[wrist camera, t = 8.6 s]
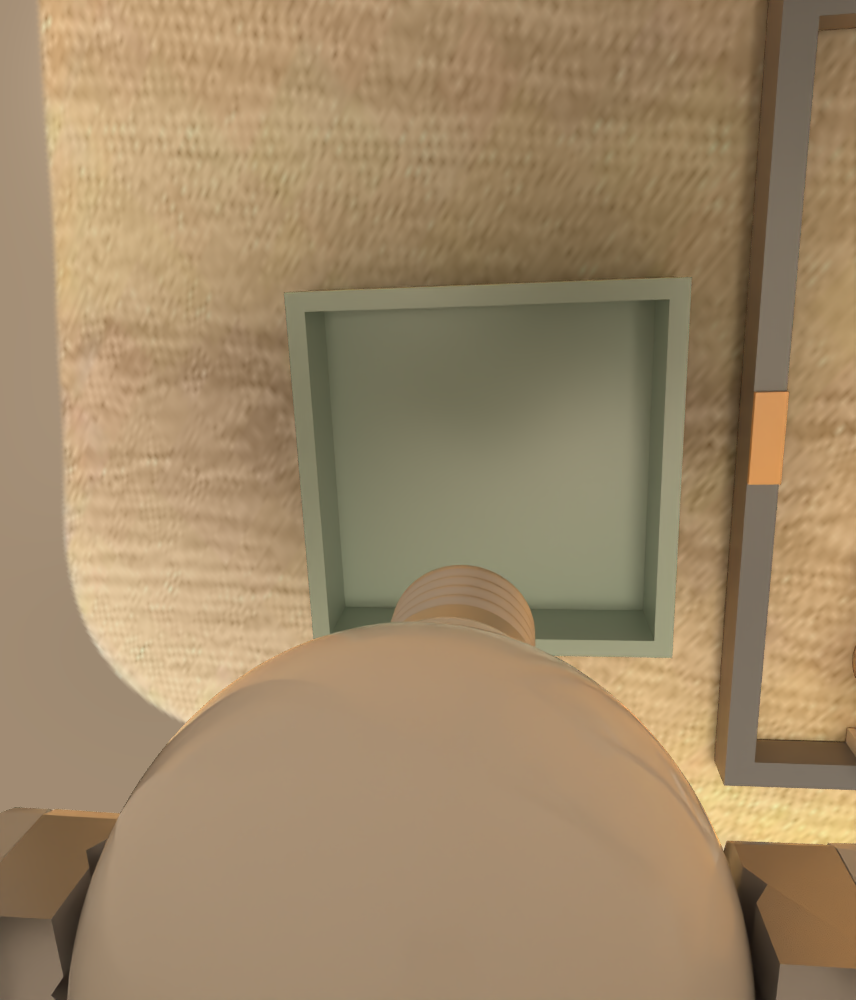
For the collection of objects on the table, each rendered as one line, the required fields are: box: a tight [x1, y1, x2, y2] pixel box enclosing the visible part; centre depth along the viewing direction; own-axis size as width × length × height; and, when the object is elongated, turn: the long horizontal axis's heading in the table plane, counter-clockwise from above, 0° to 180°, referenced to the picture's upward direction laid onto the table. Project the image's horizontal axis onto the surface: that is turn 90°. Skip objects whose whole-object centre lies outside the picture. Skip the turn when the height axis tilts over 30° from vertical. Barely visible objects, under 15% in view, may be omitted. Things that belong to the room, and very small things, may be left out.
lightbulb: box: [67, 565, 756, 1000], centre depth 10 cm, size 6×6×11 cm
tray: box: [284, 277, 692, 658], centre depth 27 cm, size 12×12×3 cm
